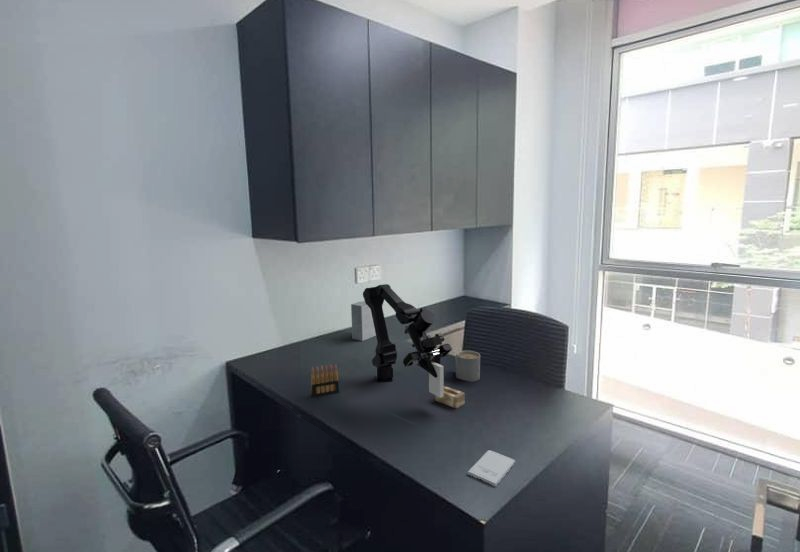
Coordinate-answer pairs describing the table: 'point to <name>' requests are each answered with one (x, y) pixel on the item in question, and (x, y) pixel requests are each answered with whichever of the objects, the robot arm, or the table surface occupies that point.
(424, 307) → the robot arm
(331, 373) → the ammunition clip
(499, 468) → the external hard drive
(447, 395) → the oak box
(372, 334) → the hard drive box
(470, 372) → the coffee mug
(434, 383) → the cover plate
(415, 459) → the table surface
